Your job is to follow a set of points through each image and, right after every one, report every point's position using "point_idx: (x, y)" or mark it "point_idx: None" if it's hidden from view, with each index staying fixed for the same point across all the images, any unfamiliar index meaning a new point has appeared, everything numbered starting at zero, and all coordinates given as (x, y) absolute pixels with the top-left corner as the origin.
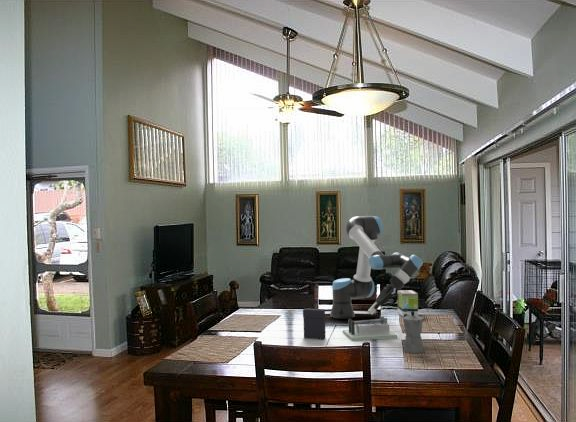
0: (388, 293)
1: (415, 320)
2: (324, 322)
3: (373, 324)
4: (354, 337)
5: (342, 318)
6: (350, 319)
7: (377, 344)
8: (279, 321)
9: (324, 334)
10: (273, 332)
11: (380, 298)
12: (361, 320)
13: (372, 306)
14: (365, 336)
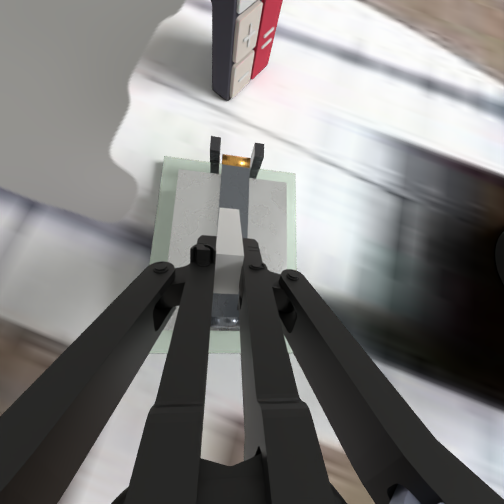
0: (12, 424)
1: None
2: (223, 34)
3: (186, 245)
4: (164, 165)
5: (495, 254)
6: (254, 150)
7: (71, 226)
8: (463, 73)
9: (219, 81)
10: (337, 16)
11: (207, 293)
12: (248, 203)
13: (223, 227)
14: (164, 209)
